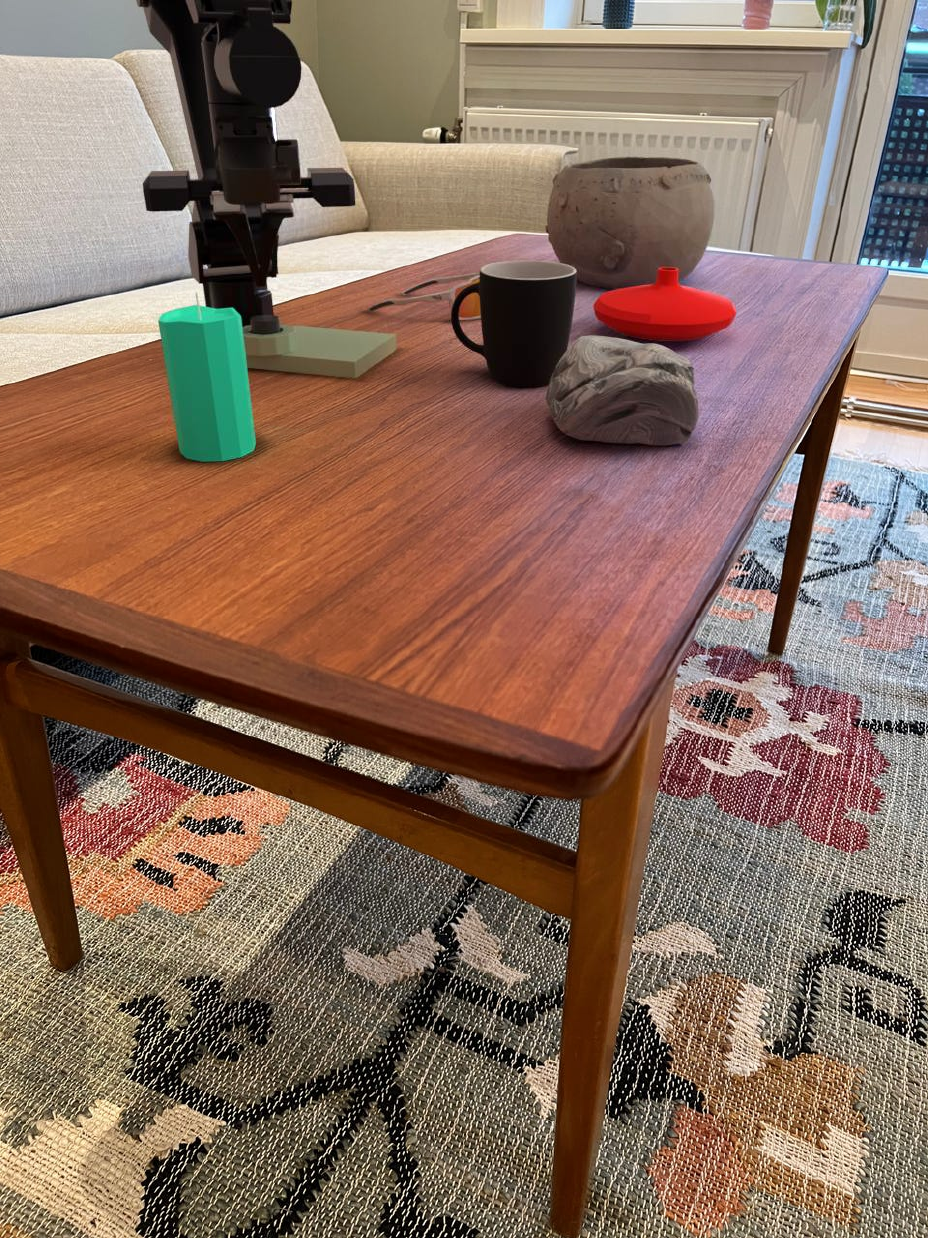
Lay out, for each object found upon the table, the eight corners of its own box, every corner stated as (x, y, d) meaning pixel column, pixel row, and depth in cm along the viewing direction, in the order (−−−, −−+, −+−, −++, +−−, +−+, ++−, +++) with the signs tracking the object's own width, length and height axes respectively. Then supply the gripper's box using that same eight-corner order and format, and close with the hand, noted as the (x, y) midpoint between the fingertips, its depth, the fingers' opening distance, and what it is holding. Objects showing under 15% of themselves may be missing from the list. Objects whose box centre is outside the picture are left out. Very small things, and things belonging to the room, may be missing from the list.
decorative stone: (593, 353, 86) (628, 255, 78) (716, 432, 82) (766, 338, 75) (499, 420, 78) (527, 319, 70) (631, 511, 74) (677, 415, 66)
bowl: (594, 256, 146) (601, 150, 138) (733, 274, 134) (750, 158, 126) (513, 281, 130) (516, 162, 122) (663, 303, 118) (678, 173, 110)
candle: (238, 464, 71) (217, 303, 65) (166, 458, 72) (138, 299, 66) (267, 437, 76) (251, 285, 70) (199, 432, 77) (177, 282, 71)
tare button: (246, 336, 92) (245, 320, 91) (260, 329, 94) (258, 313, 93) (272, 338, 91) (270, 322, 90) (285, 331, 93) (284, 315, 93)
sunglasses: (476, 325, 107) (471, 280, 105) (362, 332, 113) (355, 289, 111) (516, 300, 119) (512, 259, 116) (411, 307, 124) (405, 268, 122)
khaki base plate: (230, 370, 93) (226, 334, 91) (286, 340, 103) (283, 307, 101) (350, 382, 89) (348, 345, 87) (396, 350, 99) (395, 316, 97)
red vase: (640, 359, 96) (647, 288, 92) (566, 325, 108) (569, 261, 105) (762, 344, 102) (774, 276, 98) (679, 312, 114) (686, 251, 110)
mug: (579, 369, 93) (586, 263, 88) (557, 396, 86) (564, 281, 80) (466, 358, 96) (466, 255, 91) (436, 383, 89) (434, 272, 84)
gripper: (123, 108, 74) (156, 309, 82) (357, 106, 77) (367, 300, 85) (134, 101, 83) (163, 283, 91) (343, 100, 86) (353, 275, 95)
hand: (261, 286), depth 90 cm, fingers closed
